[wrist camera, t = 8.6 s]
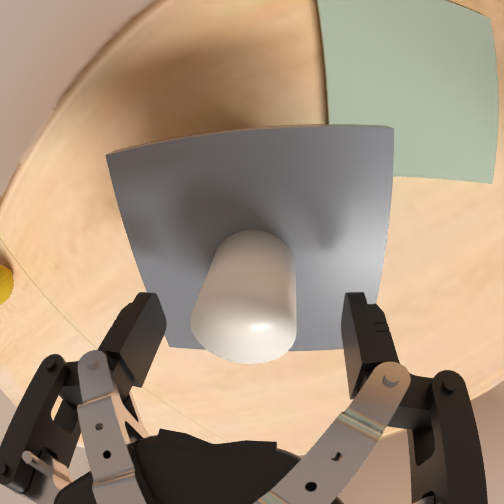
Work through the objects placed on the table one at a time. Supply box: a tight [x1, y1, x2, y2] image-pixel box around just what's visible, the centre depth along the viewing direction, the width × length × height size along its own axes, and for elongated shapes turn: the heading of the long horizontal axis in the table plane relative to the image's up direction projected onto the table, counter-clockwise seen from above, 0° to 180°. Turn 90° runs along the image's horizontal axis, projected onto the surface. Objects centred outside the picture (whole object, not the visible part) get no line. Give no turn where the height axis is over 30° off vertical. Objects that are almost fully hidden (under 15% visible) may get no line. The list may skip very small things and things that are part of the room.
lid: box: [106, 124, 394, 364], centre depth 13 cm, size 13×13×5 cm
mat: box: [317, 0, 498, 184], centre depth 16 cm, size 16×16×1 cm
